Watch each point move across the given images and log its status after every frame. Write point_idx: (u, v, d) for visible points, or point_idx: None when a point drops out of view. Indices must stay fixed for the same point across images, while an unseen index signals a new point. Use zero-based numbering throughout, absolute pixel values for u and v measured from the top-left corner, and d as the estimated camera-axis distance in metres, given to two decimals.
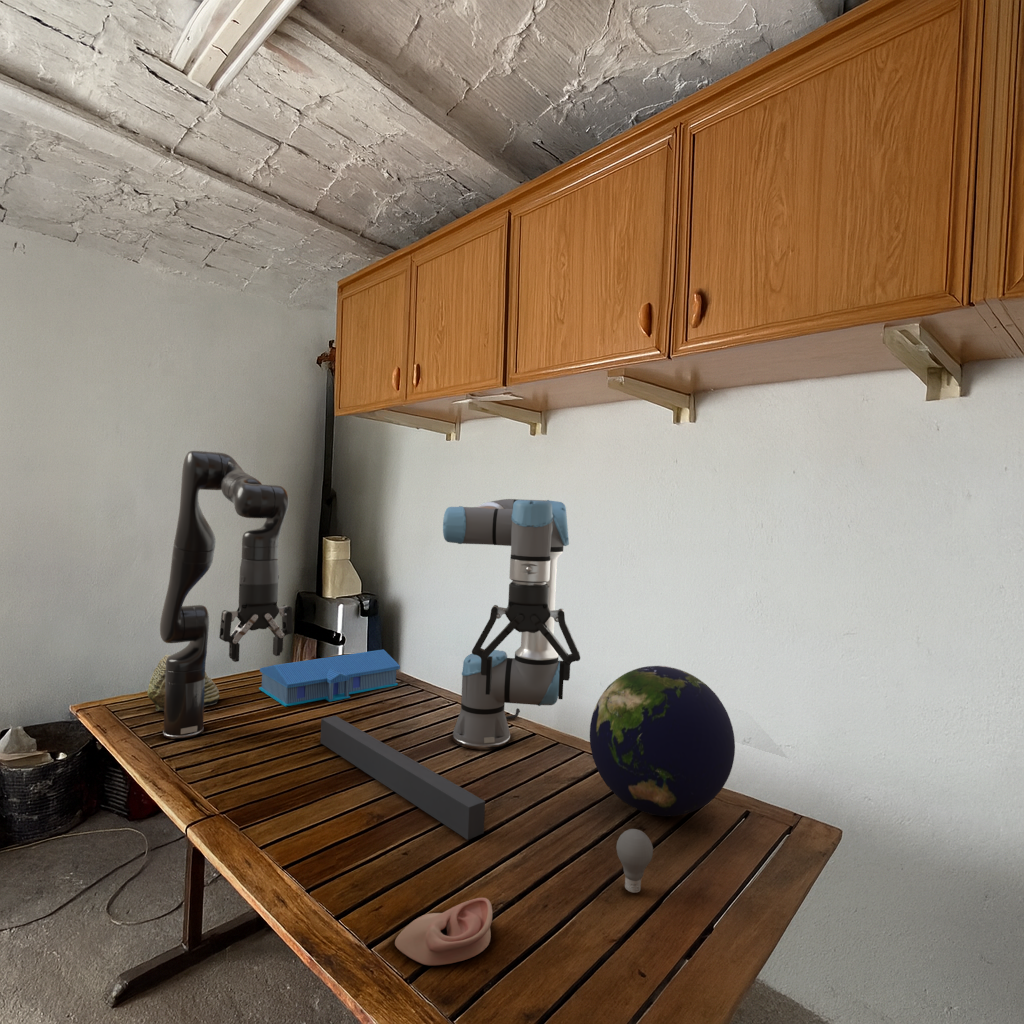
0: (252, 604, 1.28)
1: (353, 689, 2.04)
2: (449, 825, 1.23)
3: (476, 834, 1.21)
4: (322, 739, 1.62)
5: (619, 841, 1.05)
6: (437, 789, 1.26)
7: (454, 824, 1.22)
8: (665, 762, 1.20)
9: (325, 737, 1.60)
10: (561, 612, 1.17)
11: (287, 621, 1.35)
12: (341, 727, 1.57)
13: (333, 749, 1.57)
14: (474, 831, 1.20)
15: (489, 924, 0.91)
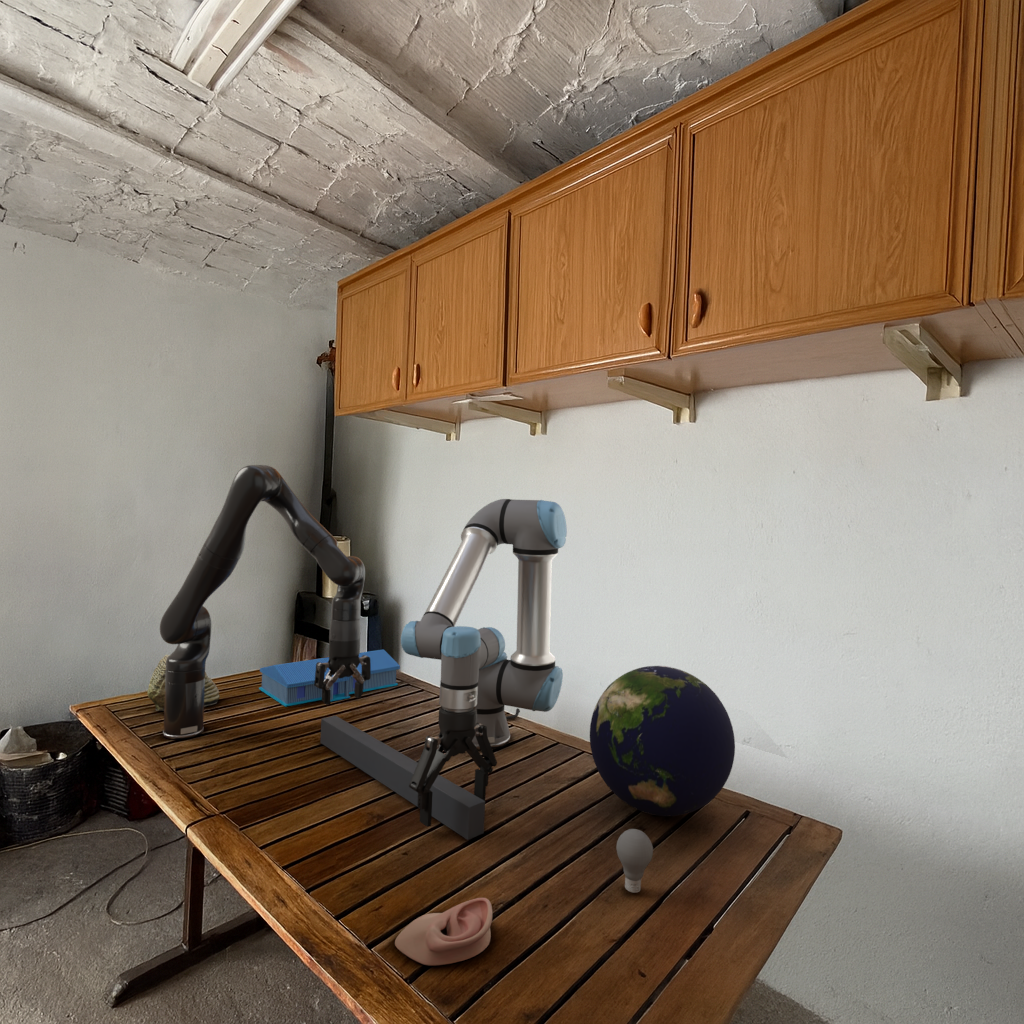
0: (341, 657, 1.55)
1: (353, 689, 2.04)
2: (449, 825, 1.23)
3: (476, 834, 1.21)
4: (322, 739, 1.62)
5: (619, 841, 1.05)
6: (437, 789, 1.26)
7: (454, 824, 1.22)
8: (665, 762, 1.20)
9: (325, 737, 1.60)
10: (484, 727, 1.29)
11: (366, 669, 1.62)
12: (341, 727, 1.57)
13: (333, 749, 1.57)
14: (474, 831, 1.20)
15: (489, 924, 0.91)
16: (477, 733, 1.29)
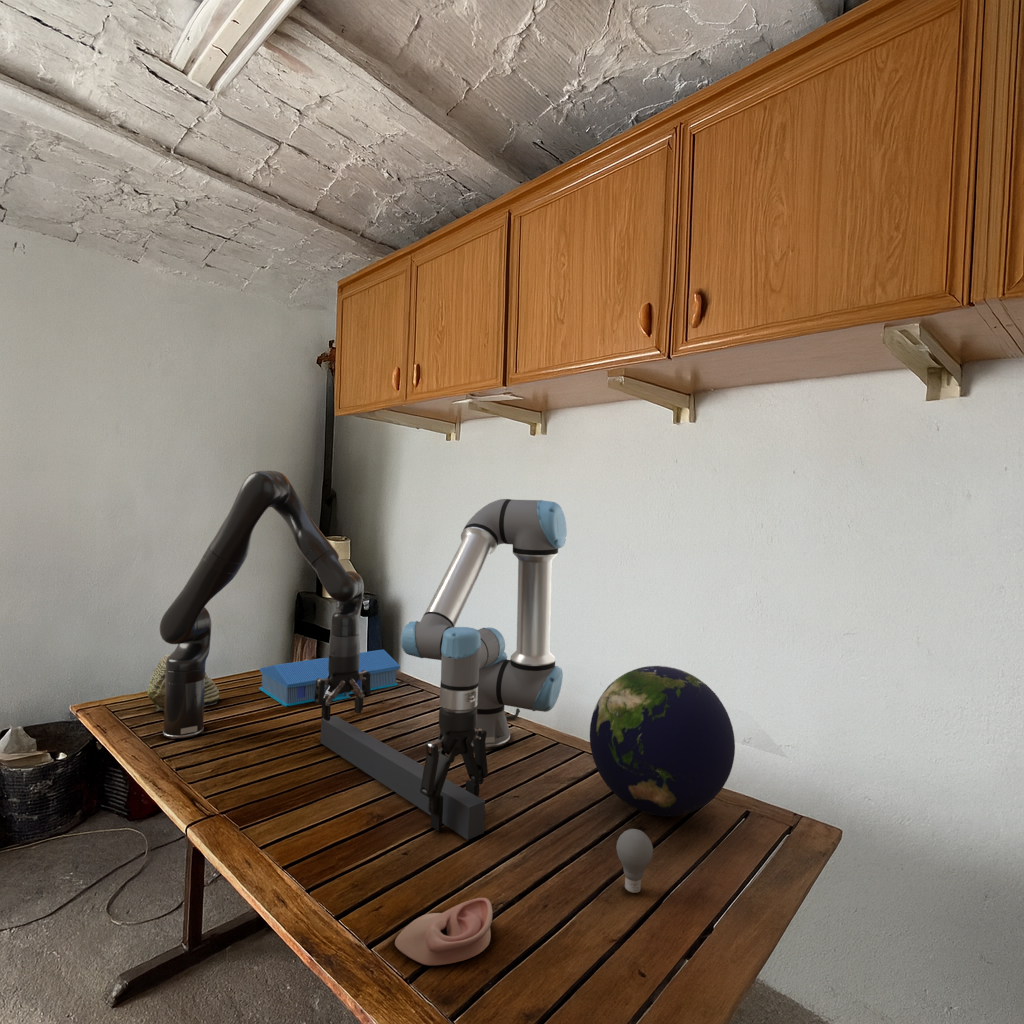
0: (341, 673, 1.55)
1: None
2: (449, 825, 1.23)
3: (476, 834, 1.21)
4: (322, 739, 1.62)
5: (619, 841, 1.05)
6: None
7: (454, 824, 1.22)
8: (665, 762, 1.20)
9: (325, 737, 1.60)
10: (485, 732, 1.29)
11: (366, 684, 1.62)
12: (341, 727, 1.57)
13: (333, 749, 1.57)
14: (474, 831, 1.20)
15: (489, 924, 0.91)
16: (476, 736, 1.28)
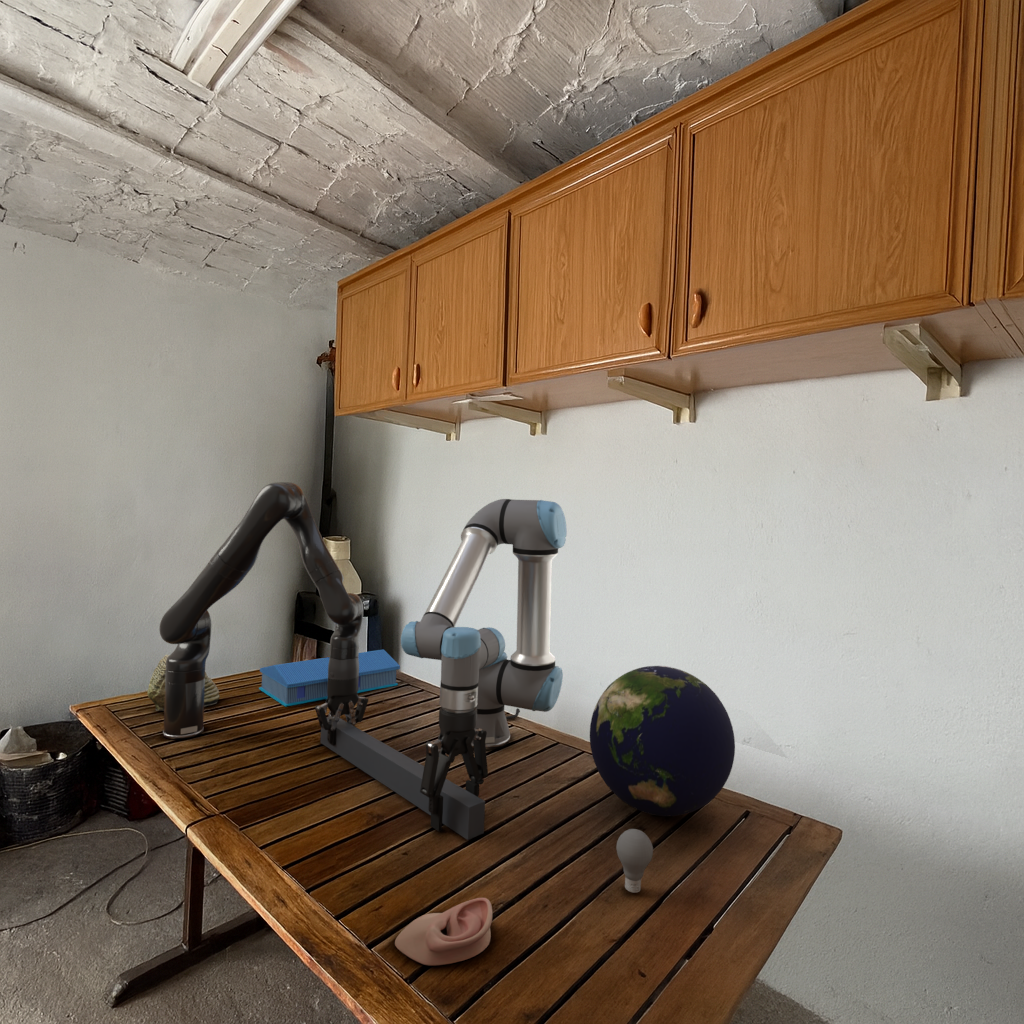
0: (339, 696, 1.55)
1: None
2: (449, 825, 1.23)
3: (476, 834, 1.21)
4: (322, 739, 1.62)
5: (619, 841, 1.05)
6: None
7: (454, 824, 1.22)
8: (665, 762, 1.20)
9: (325, 737, 1.60)
10: (485, 732, 1.29)
11: (361, 710, 1.61)
12: (341, 727, 1.57)
13: (333, 749, 1.57)
14: (474, 831, 1.20)
15: (489, 924, 0.91)
16: (476, 736, 1.28)
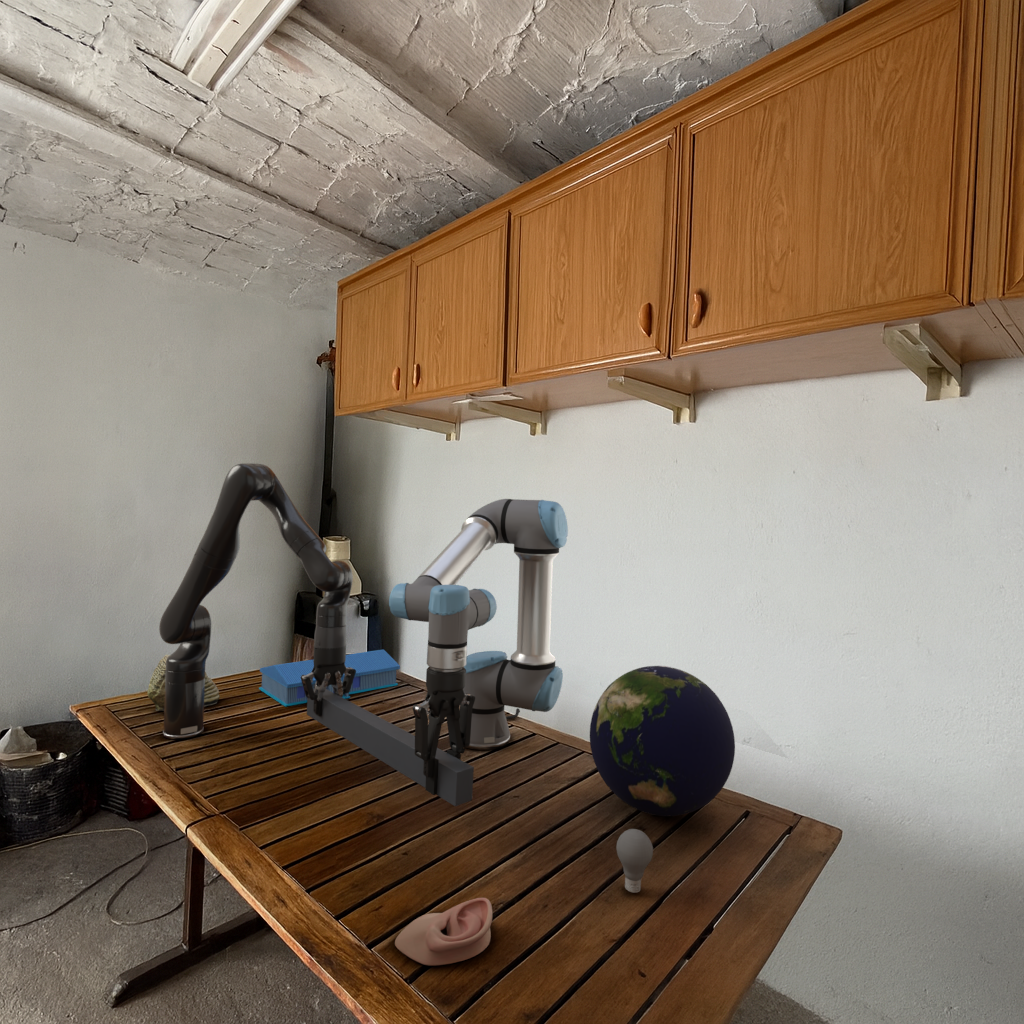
0: (326, 665, 1.50)
1: (353, 689, 2.04)
2: None
3: (464, 801, 1.16)
4: (308, 711, 1.57)
5: (619, 841, 1.05)
6: None
7: (441, 791, 1.18)
8: (665, 762, 1.20)
9: (312, 708, 1.56)
10: (473, 697, 1.24)
11: (348, 681, 1.57)
12: (328, 698, 1.52)
13: (320, 720, 1.53)
14: (462, 798, 1.16)
15: (489, 924, 0.91)
16: (464, 700, 1.24)
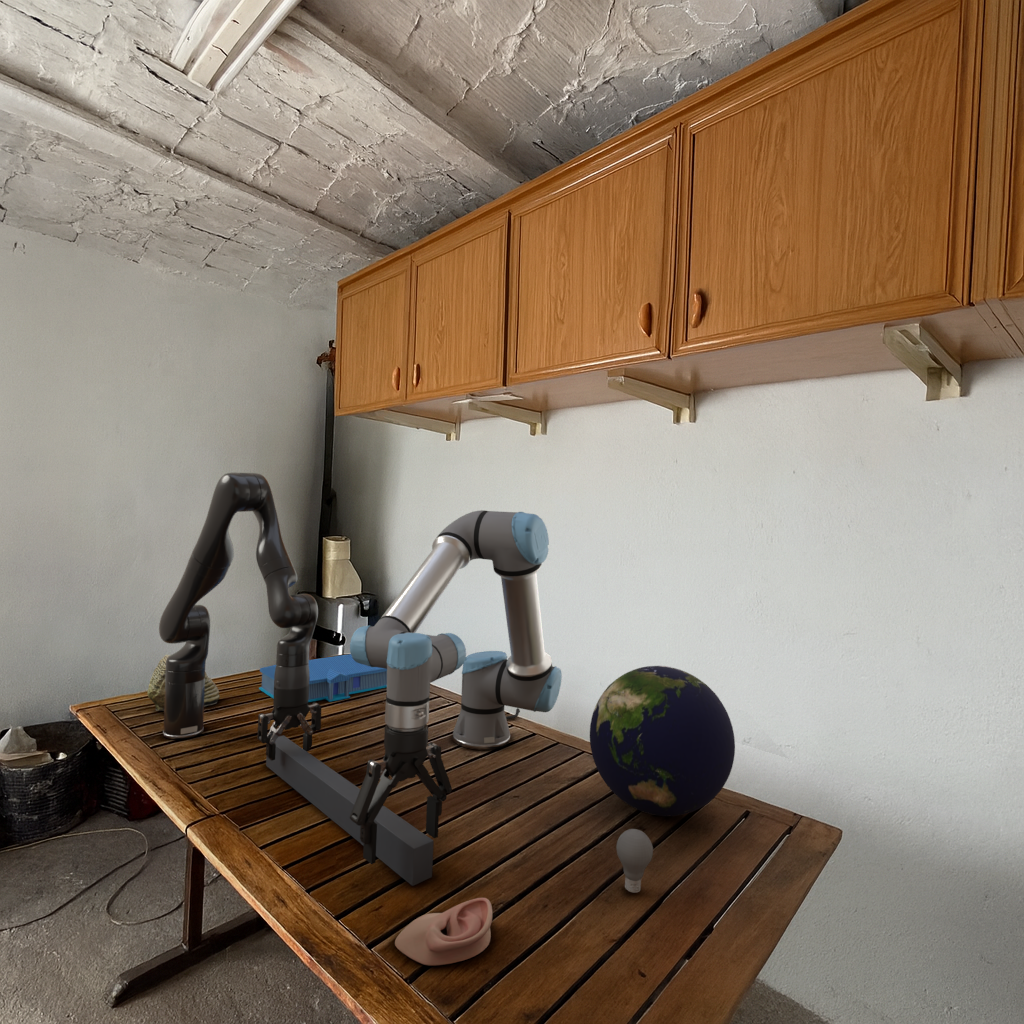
0: (286, 707, 1.40)
1: (353, 689, 2.04)
2: (393, 867, 1.08)
3: (423, 879, 1.06)
4: (268, 762, 1.47)
5: (619, 841, 1.05)
6: (381, 825, 1.12)
7: (398, 867, 1.07)
8: (665, 762, 1.20)
9: None
10: (438, 748, 1.14)
11: (316, 718, 1.47)
12: (287, 749, 1.42)
13: (278, 774, 1.42)
14: (420, 875, 1.06)
15: (489, 924, 0.91)
16: (430, 754, 1.13)
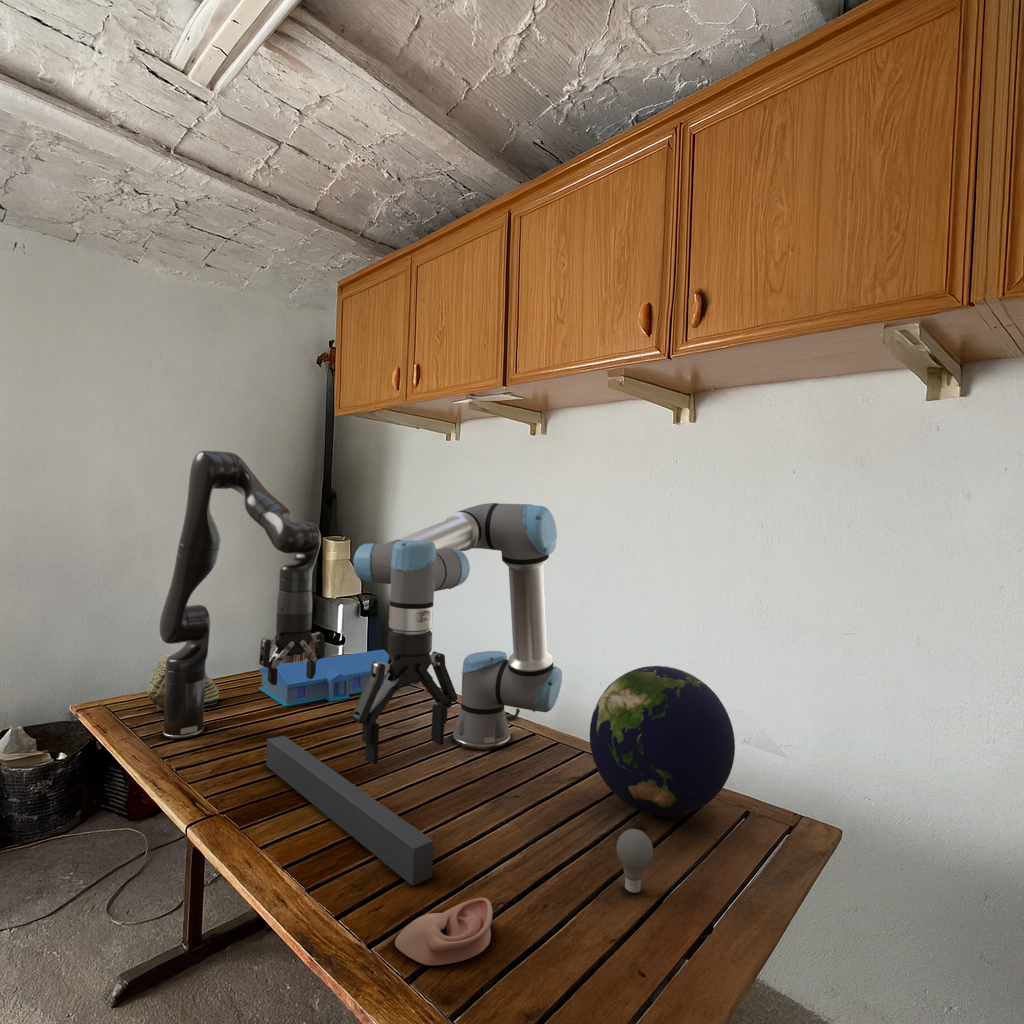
0: (289, 632, 1.39)
1: (353, 689, 2.04)
2: (393, 867, 1.08)
3: (423, 879, 1.06)
4: (268, 762, 1.47)
5: (619, 841, 1.05)
6: (381, 825, 1.12)
7: (398, 867, 1.07)
8: (665, 762, 1.20)
9: (271, 759, 1.45)
10: (442, 655, 1.13)
11: (319, 647, 1.46)
12: (287, 749, 1.42)
13: (278, 774, 1.42)
14: (420, 875, 1.06)
15: (489, 924, 0.91)
16: (434, 662, 1.13)
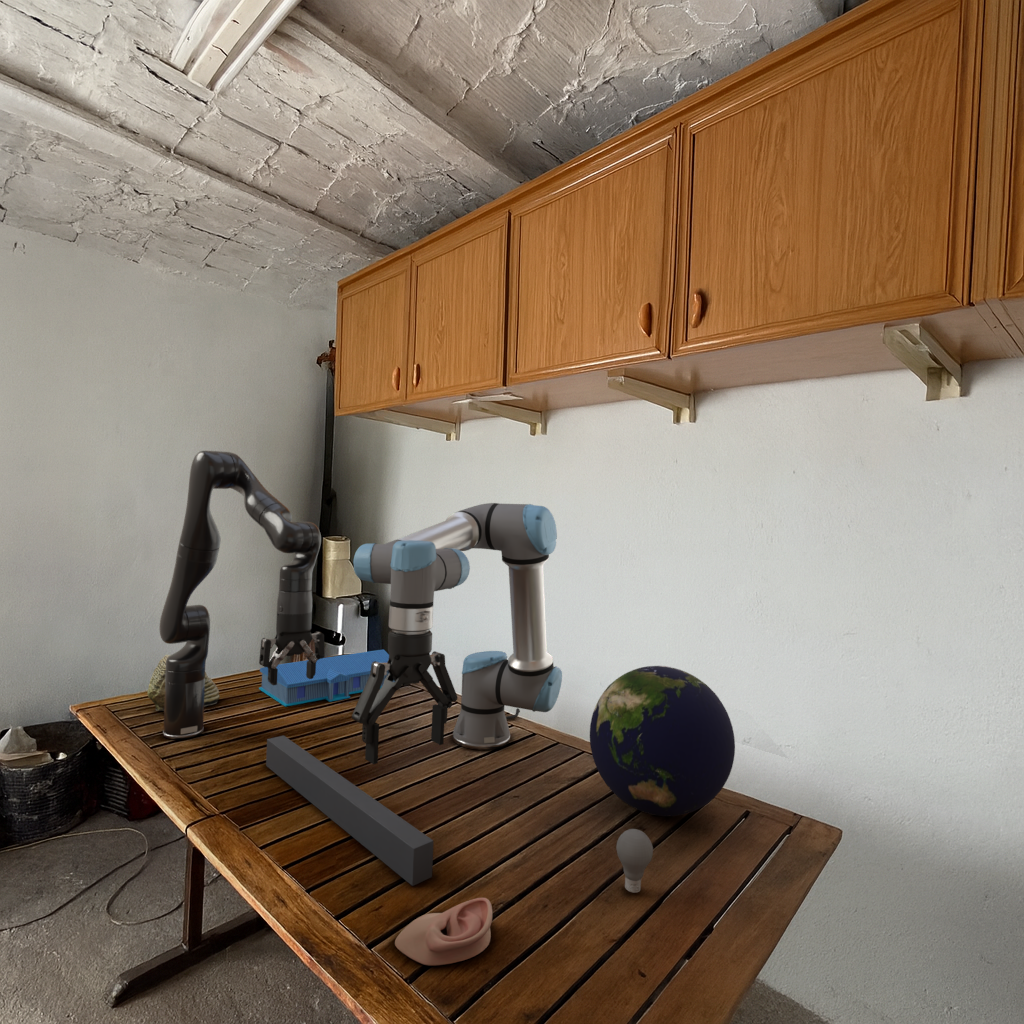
0: (289, 632, 1.39)
1: (353, 689, 2.04)
2: (393, 867, 1.08)
3: (423, 879, 1.06)
4: (268, 762, 1.47)
5: (619, 841, 1.05)
6: (381, 825, 1.12)
7: (398, 867, 1.07)
8: (665, 762, 1.20)
9: (271, 759, 1.45)
10: (442, 655, 1.13)
11: (319, 647, 1.46)
12: (287, 749, 1.42)
13: (278, 774, 1.42)
14: (420, 875, 1.06)
15: (489, 924, 0.91)
16: (434, 662, 1.13)
